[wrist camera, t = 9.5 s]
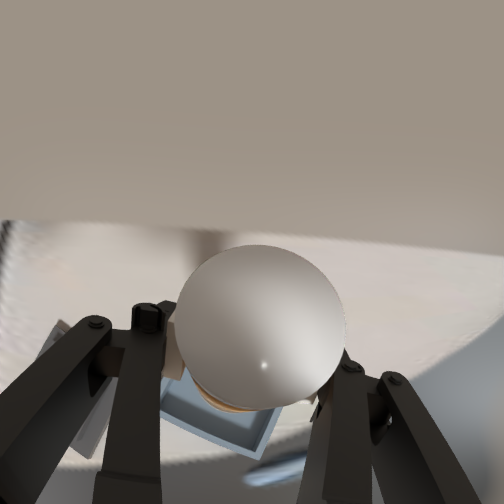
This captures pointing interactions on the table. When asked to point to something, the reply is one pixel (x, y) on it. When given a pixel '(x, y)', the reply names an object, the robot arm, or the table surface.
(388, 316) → the table surface
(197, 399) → the parts tray
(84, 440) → the block
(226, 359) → the ball
